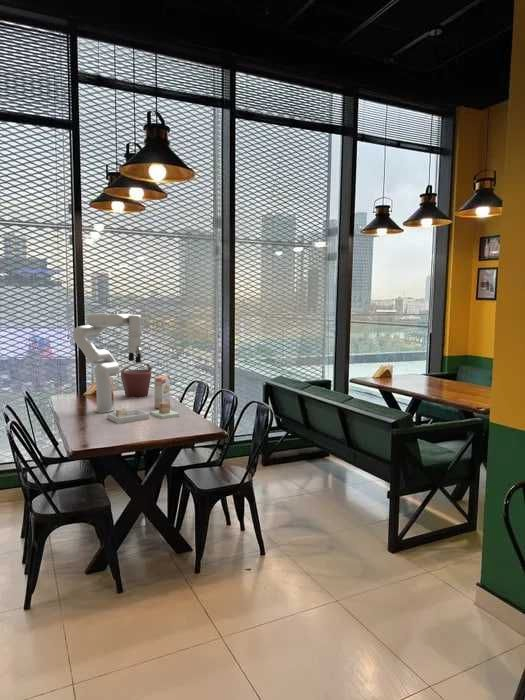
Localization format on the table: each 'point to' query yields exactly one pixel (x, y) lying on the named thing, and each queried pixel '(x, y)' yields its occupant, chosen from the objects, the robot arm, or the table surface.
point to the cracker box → (162, 390)
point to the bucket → (136, 381)
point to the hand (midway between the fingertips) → (134, 361)
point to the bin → (129, 416)
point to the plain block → (121, 413)
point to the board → (165, 415)
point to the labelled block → (164, 407)
